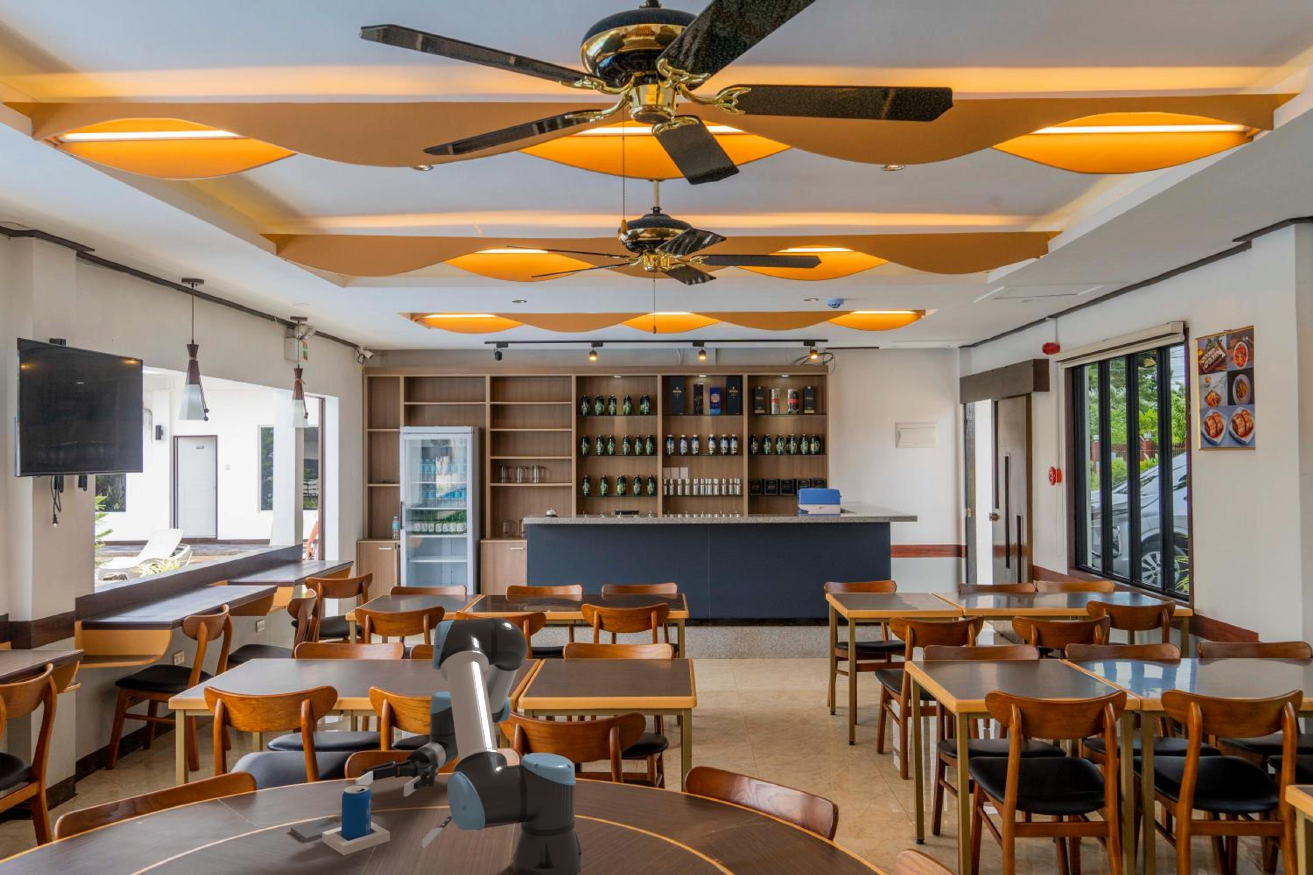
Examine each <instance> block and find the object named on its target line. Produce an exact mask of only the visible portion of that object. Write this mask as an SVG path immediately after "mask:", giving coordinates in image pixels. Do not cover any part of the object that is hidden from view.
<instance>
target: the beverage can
mask: <svg viewBox="0 0 1313 875" xmlns="http://www.w3.org/2000/svg"><path fill="white" fill-rule="evenodd" d="M343 790H344V791H343V793H342V795H341V826H342V829H341V837H343V838H344V839H346V840H347V841H350V840H354V839H357V838H360V837H363V836H367V835H370V834H371V821H372V791H371V789H370V786H369V785H362V784H360V785H355V784H353V785H350V786H349V785H348V786H347V787H345V788H344V789H343Z"/></svg>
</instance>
